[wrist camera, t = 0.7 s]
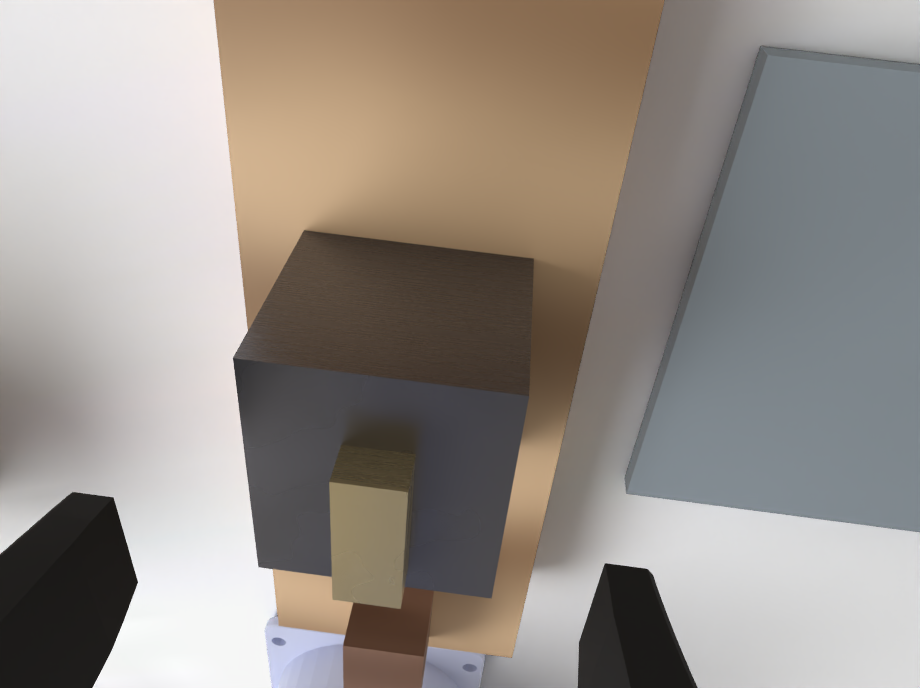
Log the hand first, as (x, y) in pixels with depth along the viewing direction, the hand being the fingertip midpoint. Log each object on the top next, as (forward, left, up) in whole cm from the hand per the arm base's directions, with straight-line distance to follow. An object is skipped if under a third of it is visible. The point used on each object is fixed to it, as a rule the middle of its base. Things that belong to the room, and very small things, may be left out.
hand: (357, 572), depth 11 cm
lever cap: (0, 0, -6) cm, 6 cm away
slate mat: (0, -11, -9) cm, 14 cm away
